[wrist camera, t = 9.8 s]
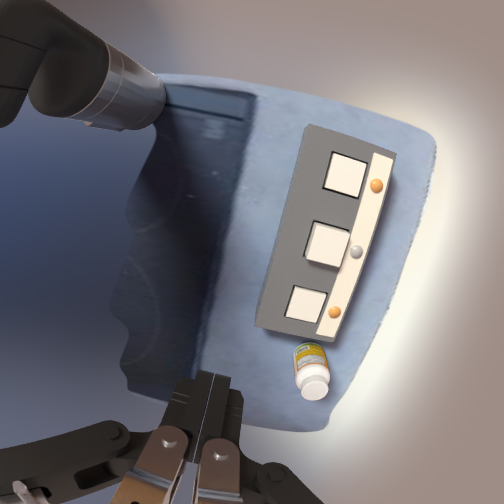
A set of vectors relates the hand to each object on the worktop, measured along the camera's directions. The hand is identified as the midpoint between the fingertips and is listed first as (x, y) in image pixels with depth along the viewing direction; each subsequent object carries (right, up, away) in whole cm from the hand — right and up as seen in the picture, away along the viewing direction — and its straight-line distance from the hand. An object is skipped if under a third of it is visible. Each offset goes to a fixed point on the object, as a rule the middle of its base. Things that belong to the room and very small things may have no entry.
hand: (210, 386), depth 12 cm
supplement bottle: (+11, -11, +36) cm, 40 cm away
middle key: (+11, +7, +27) cm, 30 cm away
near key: (+14, +16, +25) cm, 33 cm away
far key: (+9, -1, +30) cm, 32 cm away
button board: (+12, +9, +30) cm, 33 cm away
